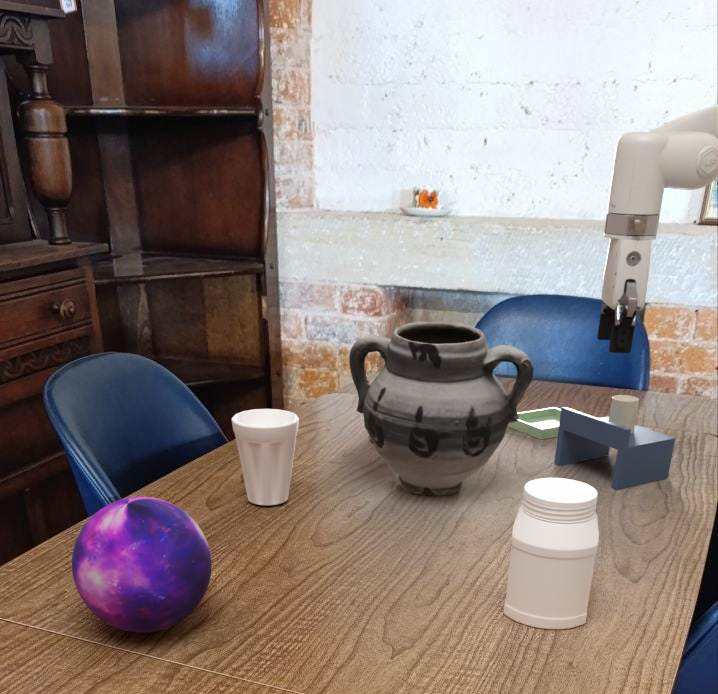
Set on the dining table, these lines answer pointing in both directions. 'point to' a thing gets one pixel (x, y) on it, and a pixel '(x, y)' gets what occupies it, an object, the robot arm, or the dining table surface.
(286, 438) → the cup
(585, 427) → the stand
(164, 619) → the decorative orb
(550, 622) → the jar
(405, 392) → the ceramic pot
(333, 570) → the dining table surface
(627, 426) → the canister
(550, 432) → the tray
